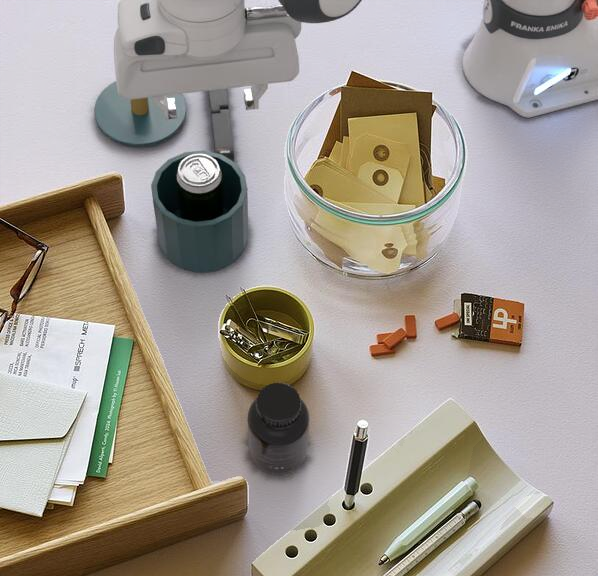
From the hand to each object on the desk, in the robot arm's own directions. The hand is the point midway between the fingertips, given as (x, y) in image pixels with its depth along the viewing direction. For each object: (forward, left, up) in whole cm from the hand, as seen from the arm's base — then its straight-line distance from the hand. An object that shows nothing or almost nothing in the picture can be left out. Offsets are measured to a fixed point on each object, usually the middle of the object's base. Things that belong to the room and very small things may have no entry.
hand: (211, 110), depth 121 cm
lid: (+8, -17, -17) cm, 26 cm away
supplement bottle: (-3, +36, -18) cm, 40 cm away
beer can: (+2, +4, -17) cm, 18 cm away
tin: (+2, +4, -18) cm, 18 cm away
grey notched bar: (-2, -14, -18) cm, 23 cm away
